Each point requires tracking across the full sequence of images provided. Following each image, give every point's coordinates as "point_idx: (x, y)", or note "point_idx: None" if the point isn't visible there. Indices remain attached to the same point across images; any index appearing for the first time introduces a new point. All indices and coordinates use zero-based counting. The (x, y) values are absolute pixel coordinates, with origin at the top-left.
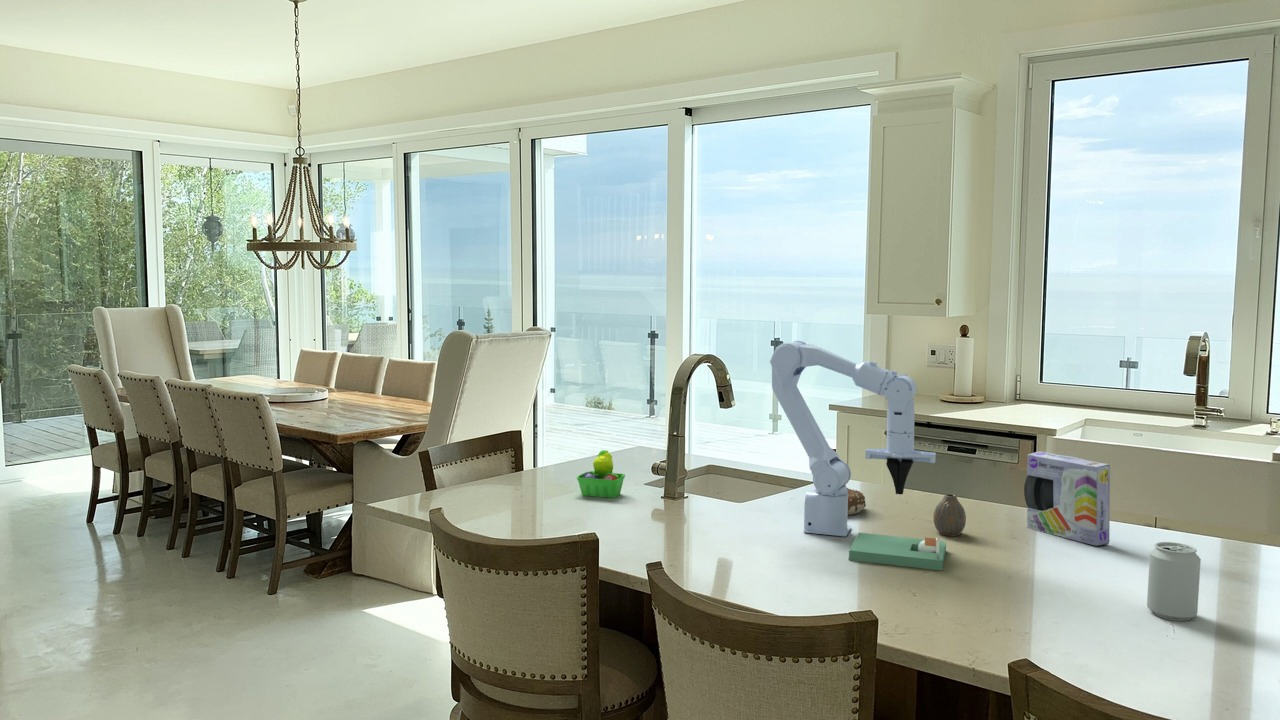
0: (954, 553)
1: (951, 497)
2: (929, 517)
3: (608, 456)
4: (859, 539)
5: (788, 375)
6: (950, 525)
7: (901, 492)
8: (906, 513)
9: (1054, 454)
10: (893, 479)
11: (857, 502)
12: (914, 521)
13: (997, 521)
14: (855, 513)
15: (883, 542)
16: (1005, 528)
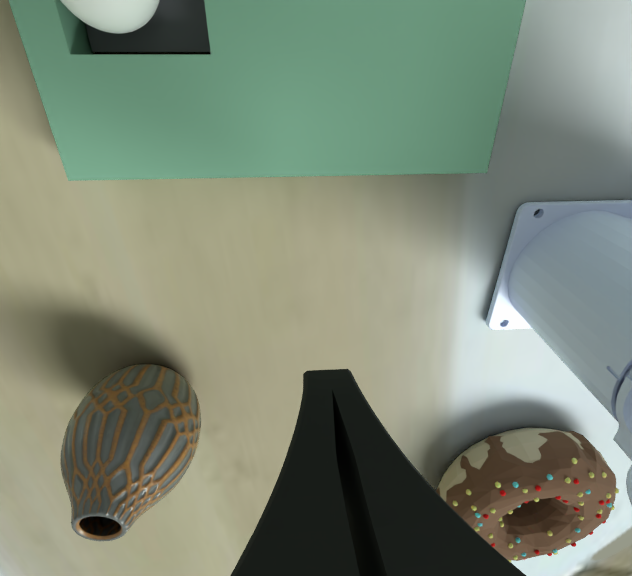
0: (40, 142)
1: (86, 509)
2: (250, 495)
3: None
4: (496, 28)
5: None
6: (120, 380)
7: (310, 377)
8: None
9: None
10: (397, 453)
11: (470, 485)
12: (284, 454)
13: (70, 523)
14: (459, 455)
15: (364, 16)
16: (22, 483)
